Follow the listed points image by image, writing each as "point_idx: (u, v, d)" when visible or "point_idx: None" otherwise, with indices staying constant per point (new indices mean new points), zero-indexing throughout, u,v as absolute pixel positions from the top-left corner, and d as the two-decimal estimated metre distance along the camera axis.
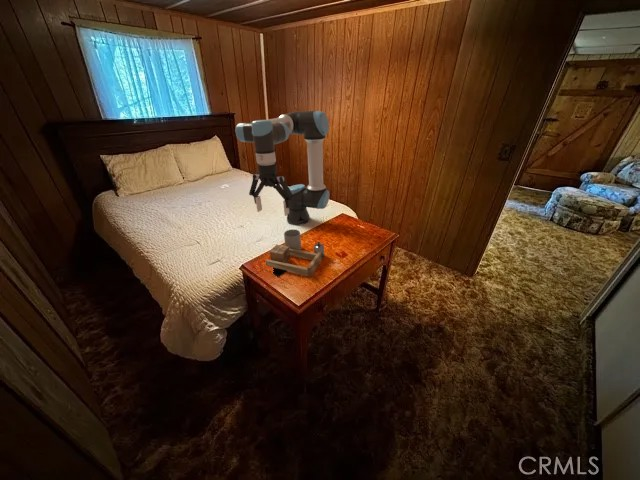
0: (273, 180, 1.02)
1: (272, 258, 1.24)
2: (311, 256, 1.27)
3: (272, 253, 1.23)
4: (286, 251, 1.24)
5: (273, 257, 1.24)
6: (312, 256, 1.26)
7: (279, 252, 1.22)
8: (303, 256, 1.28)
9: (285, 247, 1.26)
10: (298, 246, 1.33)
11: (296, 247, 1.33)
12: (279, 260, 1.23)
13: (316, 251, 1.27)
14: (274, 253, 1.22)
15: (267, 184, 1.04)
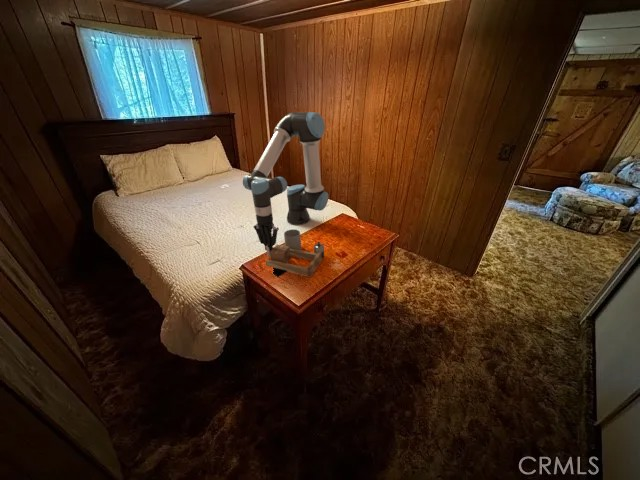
0: (269, 227, 1.19)
1: (272, 258, 1.24)
2: (311, 256, 1.27)
3: (273, 253, 1.23)
4: (287, 251, 1.24)
5: (274, 257, 1.24)
6: (312, 256, 1.26)
7: (280, 252, 1.22)
8: (303, 256, 1.28)
9: (286, 247, 1.26)
10: (298, 246, 1.33)
11: (296, 247, 1.33)
12: (280, 260, 1.23)
13: (316, 251, 1.27)
14: (275, 253, 1.22)
15: (264, 230, 1.21)
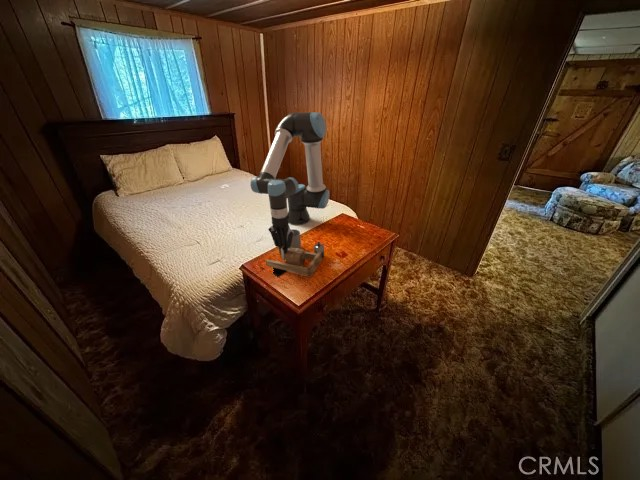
0: (285, 230, 1.16)
1: (287, 261, 1.21)
2: (311, 256, 1.27)
3: (288, 256, 1.20)
4: (302, 254, 1.21)
5: (289, 260, 1.21)
6: (312, 256, 1.26)
7: (295, 255, 1.19)
8: None
9: (301, 250, 1.23)
10: (298, 246, 1.33)
11: (296, 247, 1.33)
12: (295, 263, 1.20)
13: (316, 251, 1.27)
14: (290, 256, 1.19)
15: (279, 232, 1.18)
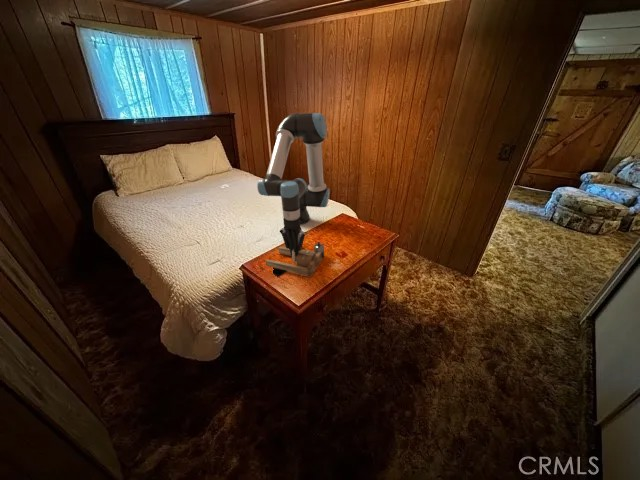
0: (297, 232, 1.14)
1: (298, 264, 1.20)
2: None
3: (299, 258, 1.18)
4: (313, 256, 1.20)
5: (300, 262, 1.19)
6: None
7: (307, 257, 1.17)
8: None
9: (312, 252, 1.21)
10: None
11: None
12: (306, 266, 1.18)
13: (316, 251, 1.27)
14: (301, 258, 1.17)
15: (291, 234, 1.16)
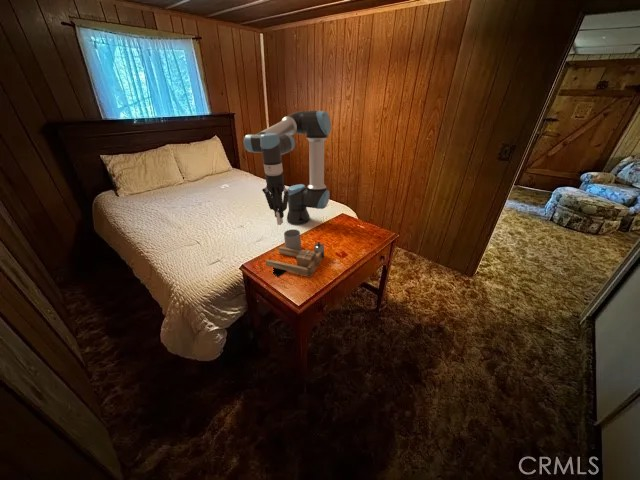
0: (280, 189, 1.08)
1: (299, 264, 1.20)
2: None
3: (299, 259, 1.18)
4: (313, 256, 1.20)
5: (300, 263, 1.19)
6: None
7: (307, 257, 1.17)
8: None
9: (312, 252, 1.21)
10: (298, 246, 1.33)
11: (296, 247, 1.33)
12: (306, 266, 1.19)
13: (316, 251, 1.27)
14: (301, 259, 1.17)
15: (274, 193, 1.10)
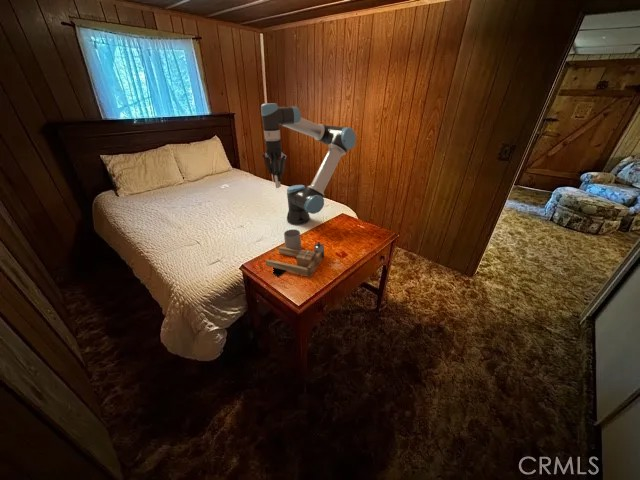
0: (278, 154, 1.23)
1: (299, 264, 1.20)
2: None
3: (299, 259, 1.18)
4: (313, 256, 1.20)
5: (300, 263, 1.19)
6: None
7: (307, 257, 1.17)
8: None
9: (312, 252, 1.21)
10: (298, 246, 1.33)
11: (296, 247, 1.33)
12: (306, 266, 1.19)
13: (316, 251, 1.27)
14: (301, 259, 1.17)
15: (273, 157, 1.25)
